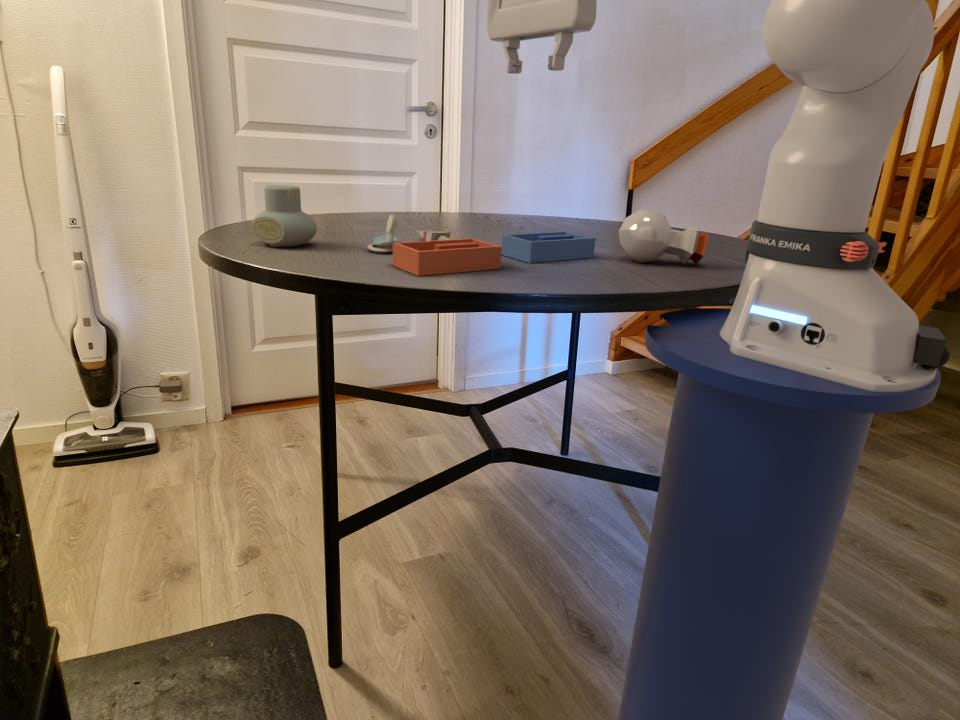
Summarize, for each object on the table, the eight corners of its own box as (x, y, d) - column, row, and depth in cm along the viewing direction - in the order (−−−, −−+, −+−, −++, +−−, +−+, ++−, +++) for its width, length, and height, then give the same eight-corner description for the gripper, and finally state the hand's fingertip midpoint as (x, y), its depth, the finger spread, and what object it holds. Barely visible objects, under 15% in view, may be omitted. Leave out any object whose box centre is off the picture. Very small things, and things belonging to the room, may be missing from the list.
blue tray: (593, 257, 114) (595, 237, 112) (529, 263, 105) (531, 241, 104) (563, 249, 120) (565, 231, 119) (501, 254, 111) (502, 234, 110)
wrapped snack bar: (431, 222, 123) (474, 244, 107) (431, 236, 124) (473, 259, 108) (413, 222, 122) (454, 244, 105) (413, 236, 123) (453, 260, 106)
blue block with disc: (561, 249, 117) (563, 233, 116) (577, 253, 114) (579, 236, 113) (516, 252, 111) (517, 235, 110) (531, 256, 108) (533, 239, 107)
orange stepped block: (468, 258, 103) (469, 240, 102) (483, 263, 100) (484, 245, 98) (410, 263, 97) (410, 243, 96) (424, 268, 93) (424, 248, 92)
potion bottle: (609, 265, 114) (689, 280, 114) (621, 241, 105) (708, 258, 104) (615, 221, 117) (694, 236, 116) (628, 194, 107) (714, 210, 107)
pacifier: (372, 255, 105) (406, 254, 107) (371, 218, 102) (406, 217, 105) (363, 248, 111) (395, 246, 113) (361, 212, 109) (395, 211, 111)
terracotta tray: (500, 268, 99) (501, 246, 98) (418, 276, 91) (418, 251, 90) (471, 259, 106) (472, 238, 104) (392, 265, 97) (392, 242, 96)
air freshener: (325, 245, 111) (323, 187, 107) (293, 251, 104) (290, 190, 100) (277, 238, 115) (274, 182, 112) (244, 243, 108) (240, 184, 104)
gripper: (614, -49, 78) (600, 70, 83) (515, -23, 94) (509, 76, 99) (577, -60, 75) (566, 65, 80) (481, -31, 91) (476, 72, 95)
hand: (534, 71), depth 89 cm, fingers open, 8 cm apart
